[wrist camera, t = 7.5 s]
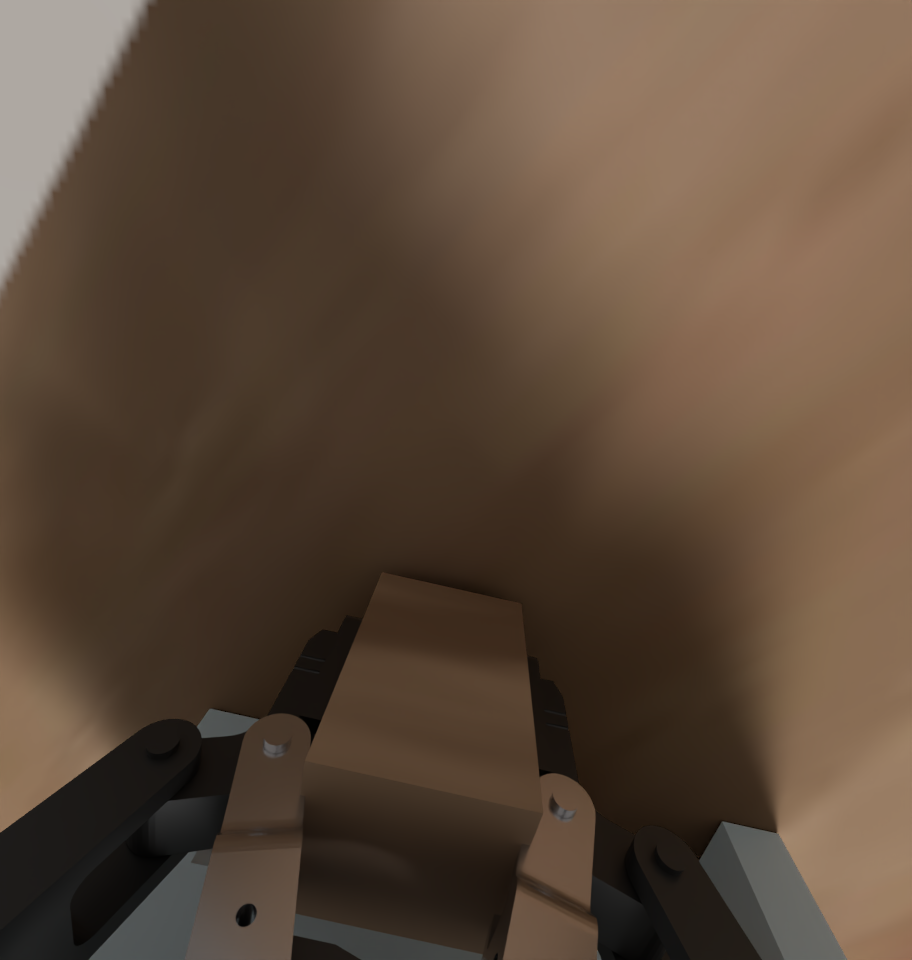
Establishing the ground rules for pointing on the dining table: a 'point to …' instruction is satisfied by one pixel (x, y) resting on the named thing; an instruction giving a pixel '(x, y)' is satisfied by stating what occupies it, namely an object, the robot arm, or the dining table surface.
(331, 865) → the wooden cube mallet
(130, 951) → the bench
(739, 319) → the dining table surface
